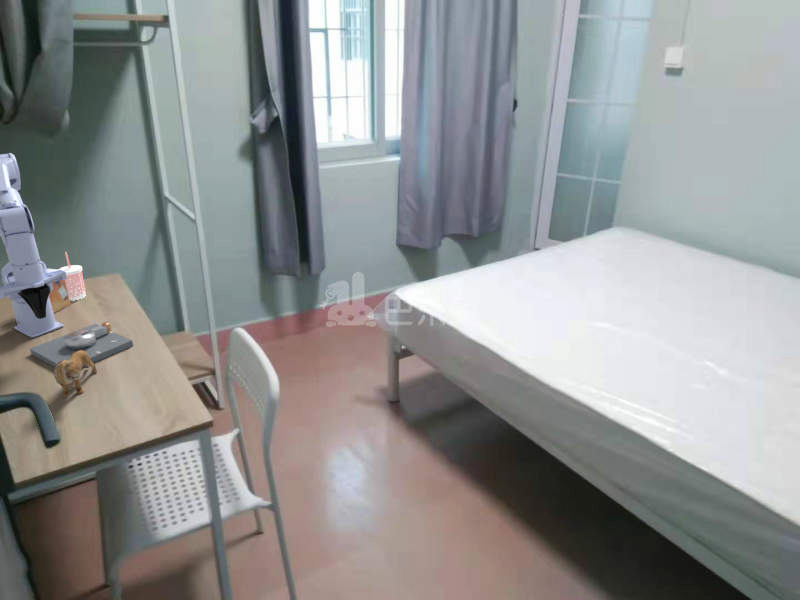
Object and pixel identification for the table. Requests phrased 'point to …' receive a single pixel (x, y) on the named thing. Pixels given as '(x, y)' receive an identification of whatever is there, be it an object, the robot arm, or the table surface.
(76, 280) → the beverage cup
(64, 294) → the small box
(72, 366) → the lion figurine
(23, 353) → the table surface
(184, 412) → the table surface
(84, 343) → the dial
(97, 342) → the dial board
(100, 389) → the table surface
